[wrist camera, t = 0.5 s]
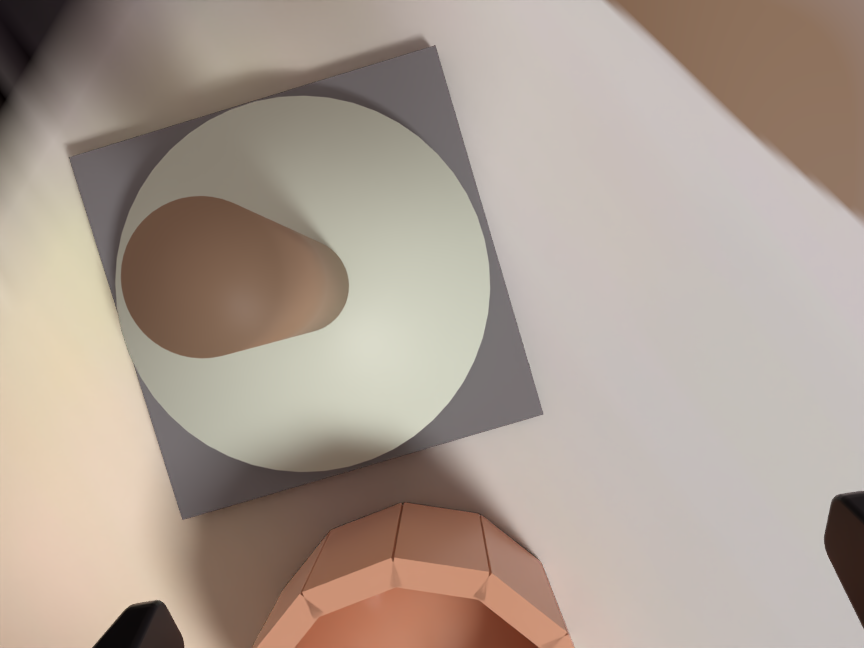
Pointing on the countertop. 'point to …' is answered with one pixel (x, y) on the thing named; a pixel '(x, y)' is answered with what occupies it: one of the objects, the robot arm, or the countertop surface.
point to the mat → (501, 345)
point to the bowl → (417, 588)
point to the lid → (302, 283)
